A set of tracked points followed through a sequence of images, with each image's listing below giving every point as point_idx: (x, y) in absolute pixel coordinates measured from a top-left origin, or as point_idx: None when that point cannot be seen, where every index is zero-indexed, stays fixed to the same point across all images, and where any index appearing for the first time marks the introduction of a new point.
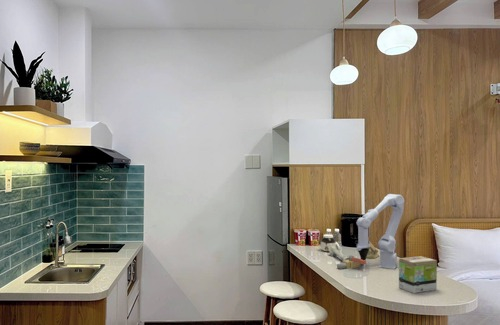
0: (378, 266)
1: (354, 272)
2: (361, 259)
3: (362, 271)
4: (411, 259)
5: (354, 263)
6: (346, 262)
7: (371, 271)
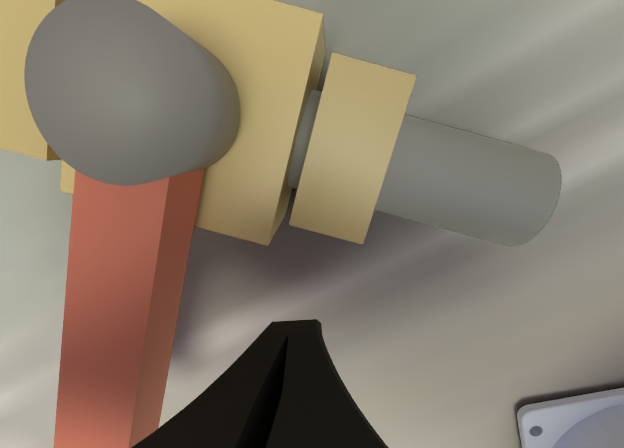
0: (523, 410)
1: (20, 305)
2: (129, 427)
3: None
4: None
5: None
6: None
7: None
